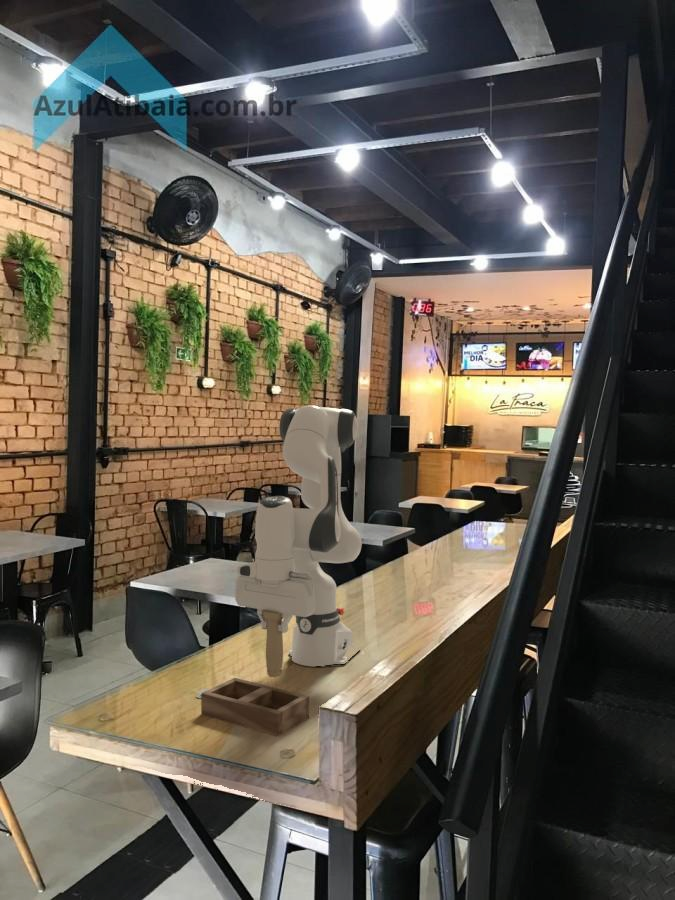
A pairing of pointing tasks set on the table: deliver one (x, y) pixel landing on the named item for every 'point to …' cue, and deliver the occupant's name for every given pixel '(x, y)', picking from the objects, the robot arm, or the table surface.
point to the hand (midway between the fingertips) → (274, 630)
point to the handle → (273, 643)
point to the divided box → (255, 706)
